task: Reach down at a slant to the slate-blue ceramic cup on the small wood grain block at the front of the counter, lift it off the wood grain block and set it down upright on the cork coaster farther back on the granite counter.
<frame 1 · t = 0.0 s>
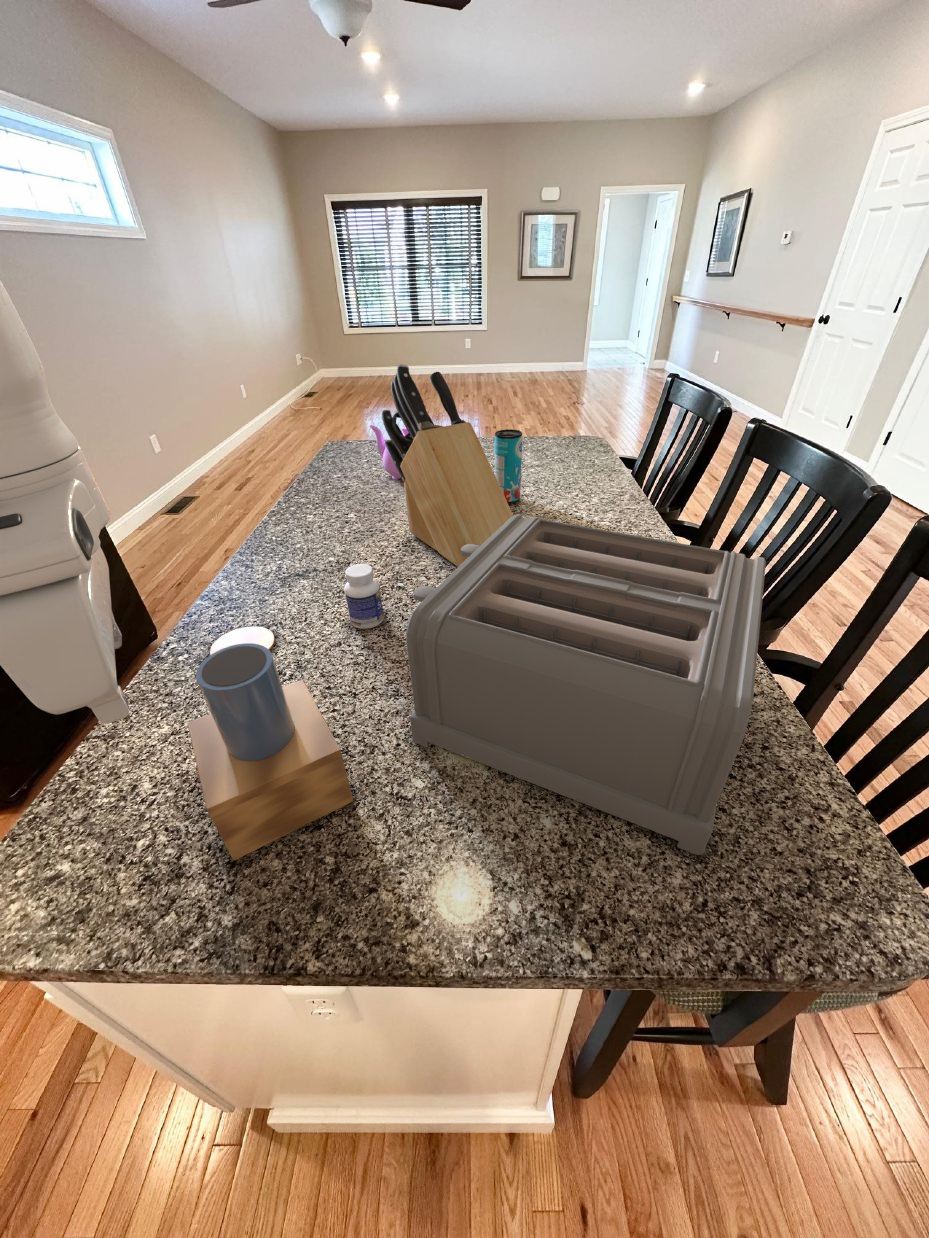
hand: (113, 677, 39), 20 cm above the countertop, tool pointing down, fingers open, 8 cm apart
knife block: (453, 541, 102), on the countertop
wood grain block: (280, 786, 55), on the countertop
toaster: (568, 695, 65), on the countertop
coaster: (243, 646, 76), on the countertop
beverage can: (507, 500, 118), on the countertop
cup: (261, 735, 50), point 8 cm above the countertop, touching wood grain block
pill bottle: (367, 620, 80), on the countertop
teapot: (408, 475, 134), on the countertop
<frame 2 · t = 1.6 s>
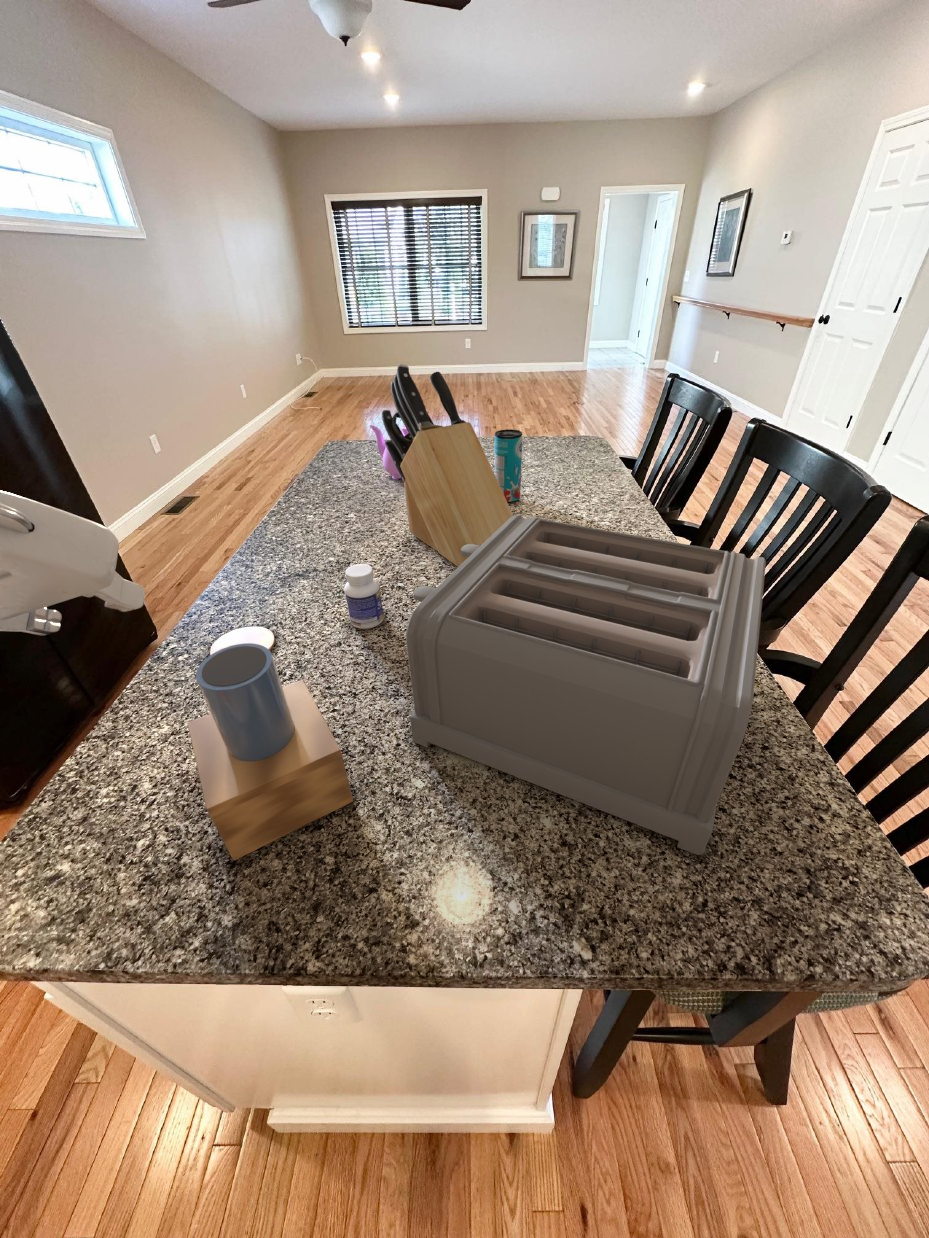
hand: (94, 612, 39), 25 cm above the countertop, tool tilted 45°, fingers open, 8 cm apart
nothing on the countertop moved.
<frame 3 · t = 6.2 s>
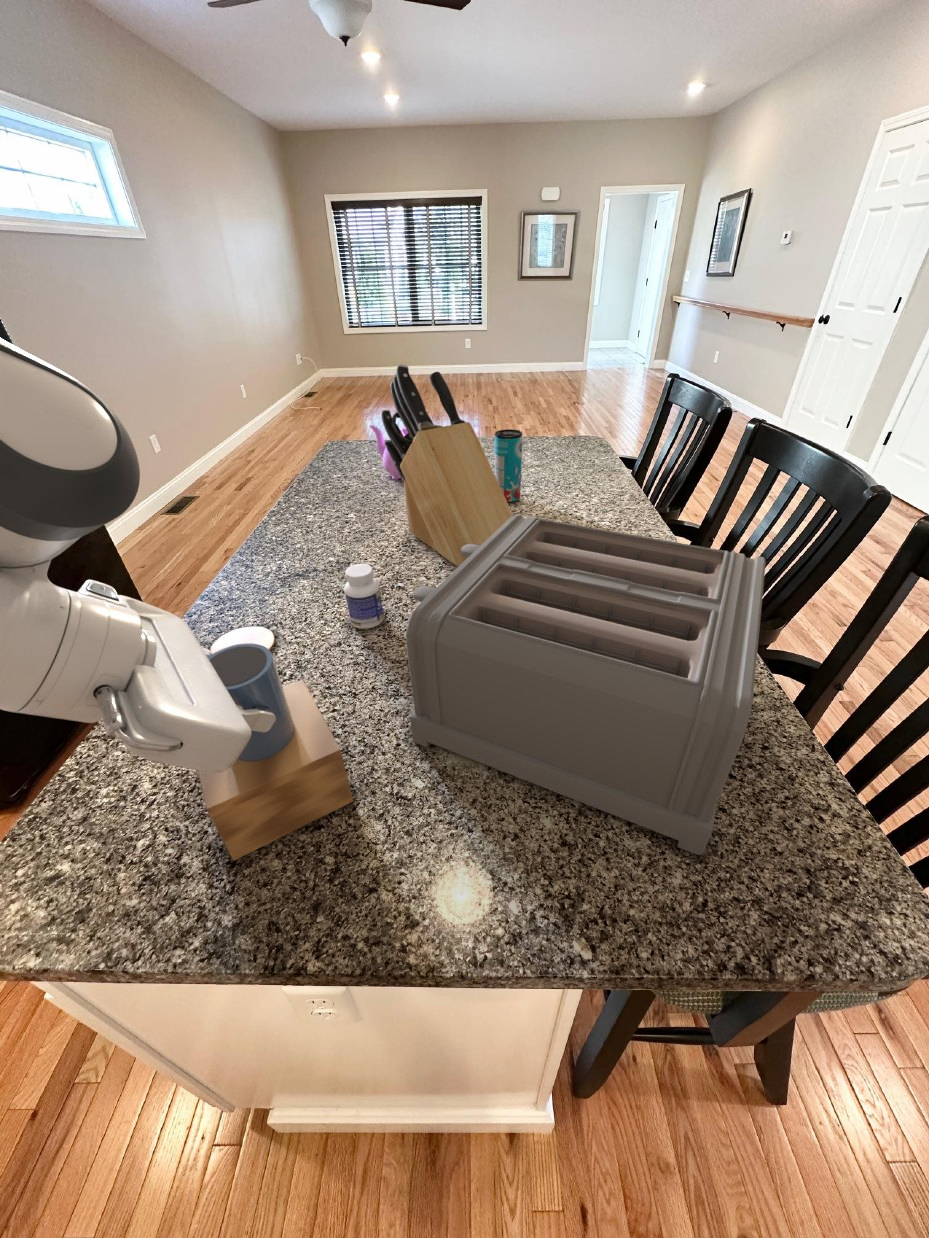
hand: (254, 696, 48), 13 cm above the countertop, tool tilted 45°, fingers closed on cup, 6 cm apart
cup: (261, 735, 50), point 8 cm above the countertop, touching gripper, wood grain block
everything else where it was.
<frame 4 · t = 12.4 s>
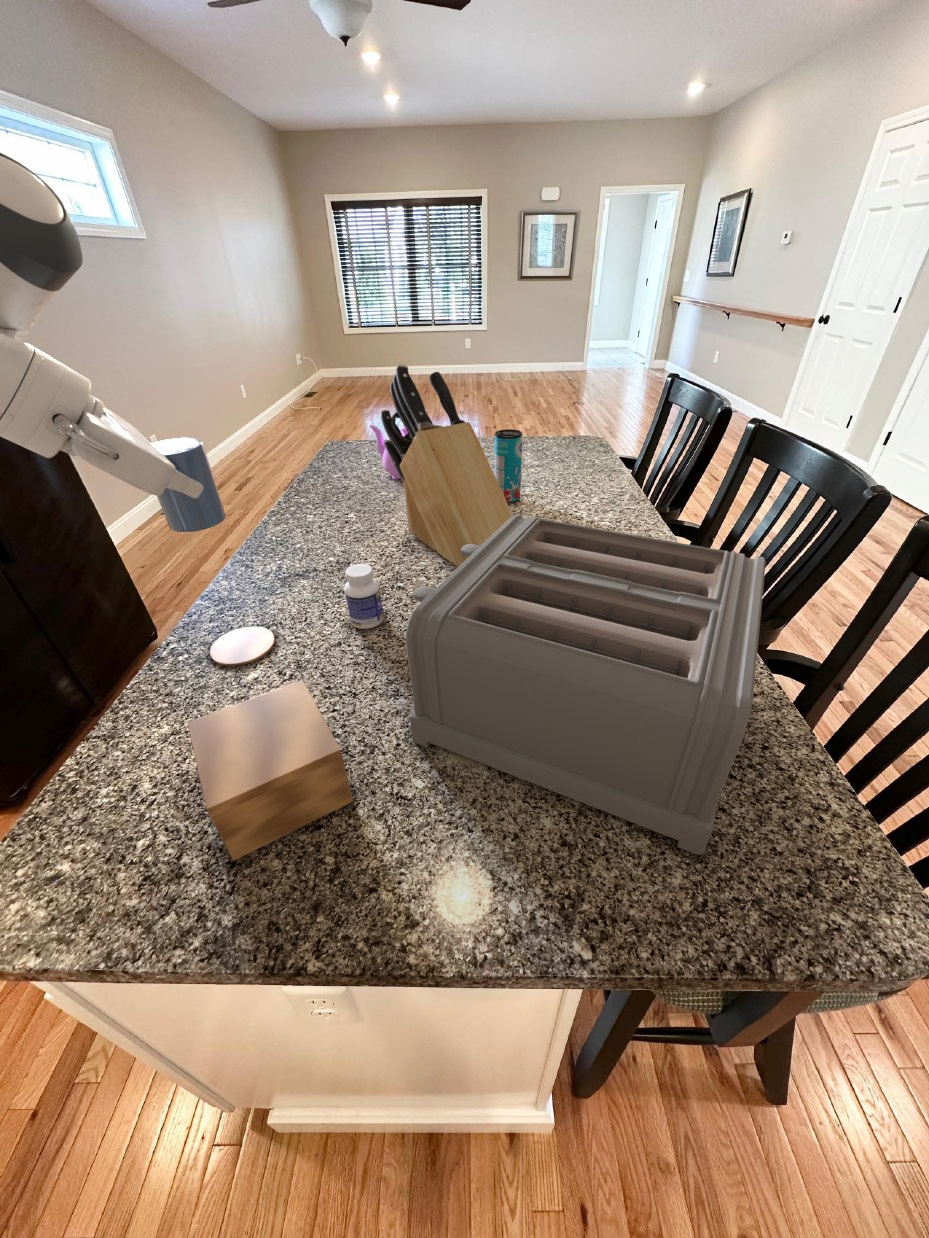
hand: (189, 482, 60), 25 cm above the countertop, tool tilted 45°, fingers closed on cup, 6 cm apart
cup: (198, 520, 62), point 21 cm above the countertop, touching gripper
everything else where it was.
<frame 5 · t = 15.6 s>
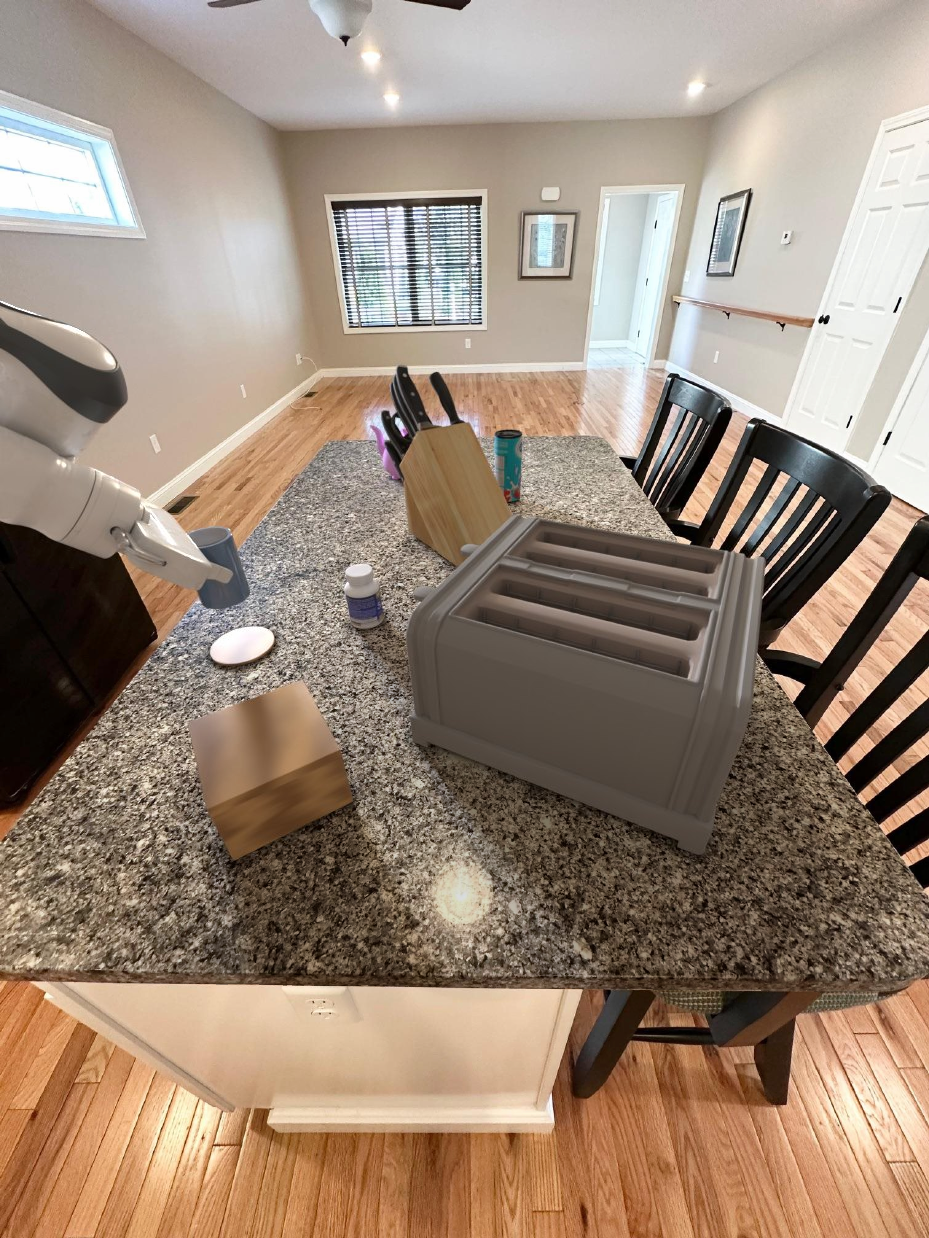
hand: (219, 565, 68), 13 cm above the countertop, tool tilted 45°, fingers closed on cup, 6 cm apart
cup: (226, 596, 71), point 9 cm above the countertop, touching gripper
everything else where it was.
when the fingers open (5 cm above the countertop, at t = 18.5 s): cup stays where it is, resting on coaster.
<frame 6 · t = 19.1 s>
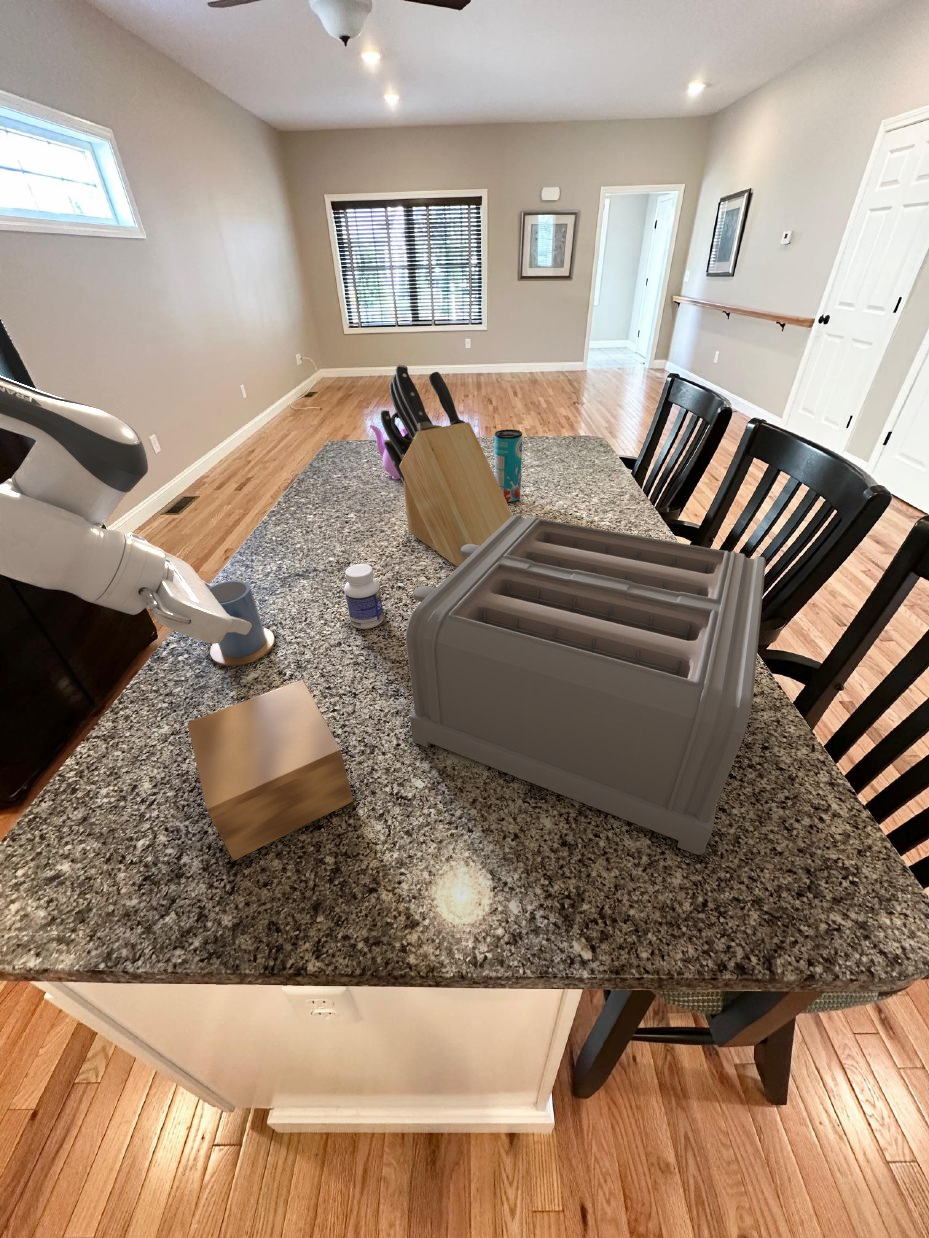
hand: (236, 613, 72), 6 cm above the countertop, tool tilted 45°, fingers open, 8 cm apart
cup: (243, 644, 75), resting on coaster
everything else where it was.
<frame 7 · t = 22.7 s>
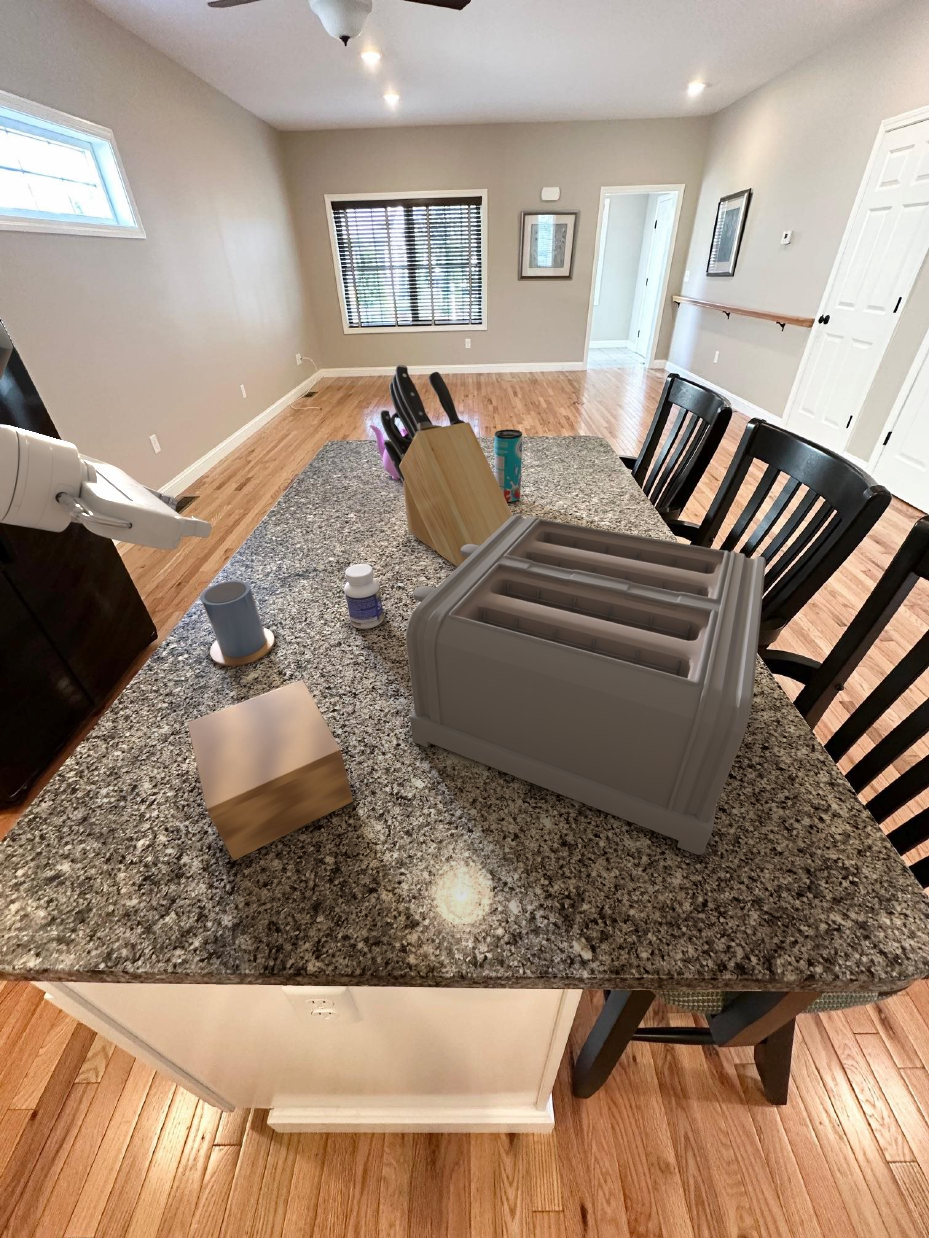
hand: (190, 516, 61), 22 cm above the countertop, tool tilted 60°, fingers open, 8 cm apart
nothing on the countertop moved.
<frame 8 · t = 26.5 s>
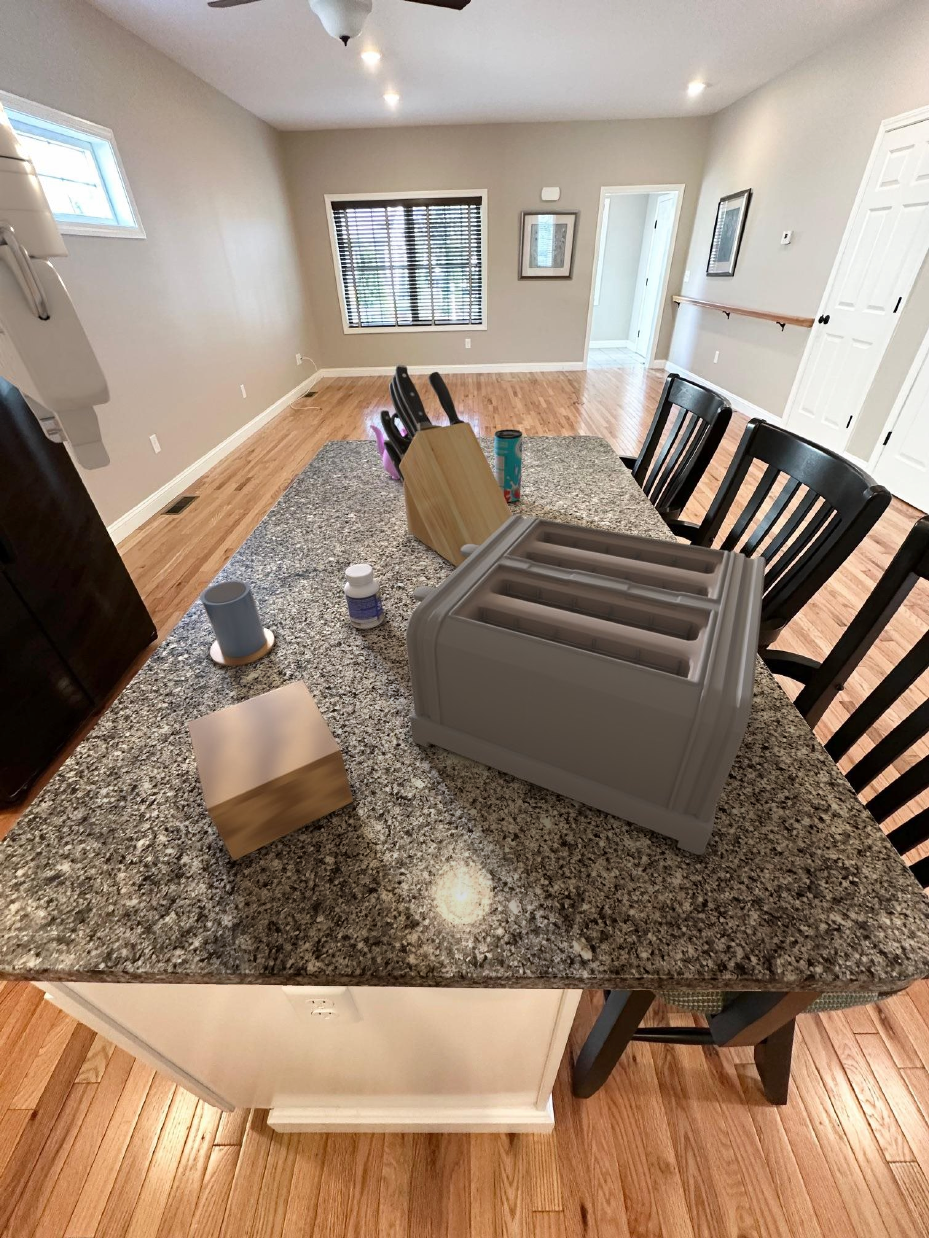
hand: (78, 452, 39), 34 cm above the countertop, tool pointing down, fingers open, 8 cm apart
nothing on the countertop moved.
at the end: cup 0.2 cm off-centre on the coaster, point 0.4 cm above the coaster's base; cup tilted 0°; the gripper is holding nothing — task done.
